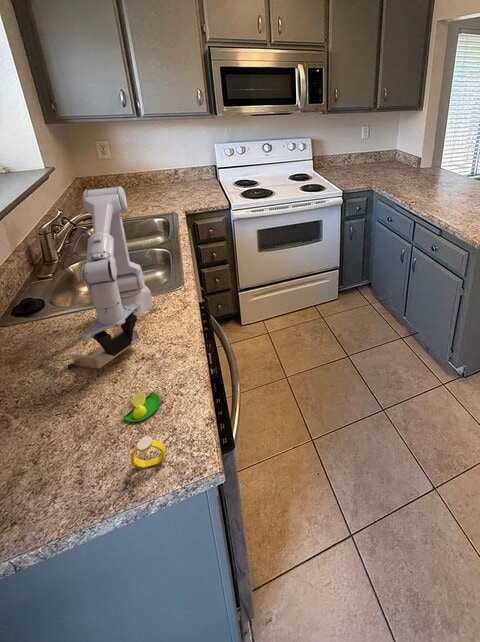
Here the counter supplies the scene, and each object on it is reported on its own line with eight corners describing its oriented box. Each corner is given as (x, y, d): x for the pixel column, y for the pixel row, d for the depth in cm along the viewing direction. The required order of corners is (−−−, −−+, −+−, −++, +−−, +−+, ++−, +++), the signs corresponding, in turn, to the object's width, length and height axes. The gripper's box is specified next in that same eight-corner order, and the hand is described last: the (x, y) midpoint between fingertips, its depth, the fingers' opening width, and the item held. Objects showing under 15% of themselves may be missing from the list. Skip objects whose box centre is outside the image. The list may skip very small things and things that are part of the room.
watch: (168, 453, 74) (163, 432, 72) (165, 466, 71) (160, 445, 69) (136, 460, 72) (130, 439, 70) (133, 474, 70) (126, 452, 68)
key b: (93, 350, 102) (93, 349, 102) (95, 350, 101) (95, 349, 101) (78, 360, 99) (77, 359, 99) (80, 360, 98) (79, 359, 97)
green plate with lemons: (117, 409, 84) (115, 400, 83) (151, 388, 89) (149, 379, 88) (131, 430, 79) (128, 420, 78) (166, 406, 84) (164, 397, 83)
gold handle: (68, 369, 96) (67, 365, 95) (120, 335, 108) (119, 332, 108) (71, 370, 95) (70, 367, 95) (123, 336, 108) (122, 333, 107)
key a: (107, 340, 106) (107, 339, 106) (110, 340, 105) (109, 339, 105) (94, 349, 102) (93, 349, 102) (96, 349, 101) (96, 349, 101)
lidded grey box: (75, 365, 96) (67, 348, 95) (117, 338, 107) (110, 323, 106) (103, 369, 89) (94, 351, 88) (144, 339, 99) (137, 323, 98)
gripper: (88, 324, 82) (102, 370, 87) (143, 292, 94) (152, 334, 99) (70, 315, 85) (84, 361, 90) (126, 286, 97) (136, 327, 102)
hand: (119, 346), depth 94 cm, fingers closed on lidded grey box, 5 cm apart
